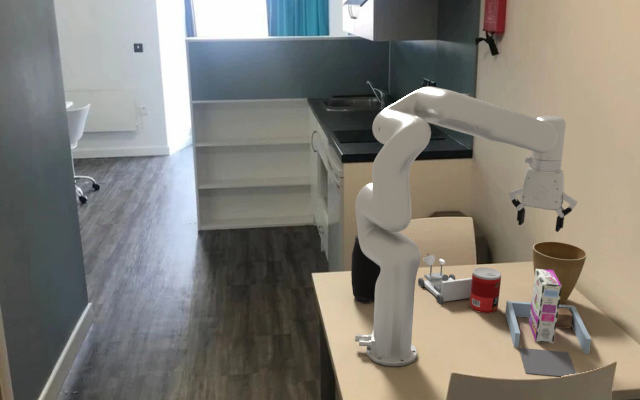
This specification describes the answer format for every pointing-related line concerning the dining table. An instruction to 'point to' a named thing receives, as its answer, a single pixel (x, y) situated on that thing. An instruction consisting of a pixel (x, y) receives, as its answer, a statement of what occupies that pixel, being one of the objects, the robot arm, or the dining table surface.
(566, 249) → the plant pot
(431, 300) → the dining table surface
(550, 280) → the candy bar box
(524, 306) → the blue u-shaped frame
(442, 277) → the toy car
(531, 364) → the mat
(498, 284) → the canned food
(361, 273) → the portable speaker
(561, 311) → the walnut block
